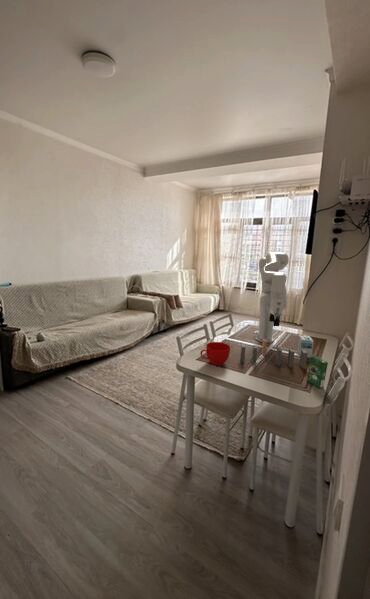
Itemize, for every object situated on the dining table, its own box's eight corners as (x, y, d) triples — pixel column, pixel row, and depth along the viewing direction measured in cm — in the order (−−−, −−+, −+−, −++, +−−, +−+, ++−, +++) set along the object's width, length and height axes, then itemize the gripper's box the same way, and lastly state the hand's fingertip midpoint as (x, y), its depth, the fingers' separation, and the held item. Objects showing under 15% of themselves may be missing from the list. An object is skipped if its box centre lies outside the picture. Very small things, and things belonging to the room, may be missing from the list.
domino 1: (240, 362, 157) (241, 346, 156) (240, 358, 162) (241, 343, 161) (244, 362, 157) (245, 347, 155) (243, 359, 162) (245, 344, 160)
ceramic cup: (194, 361, 156) (195, 343, 154) (221, 357, 163) (222, 340, 161) (205, 370, 145) (206, 352, 143) (233, 366, 151) (234, 349, 149)
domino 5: (288, 367, 154) (290, 351, 152) (287, 363, 158) (289, 348, 157) (292, 367, 153) (294, 352, 152) (290, 363, 158) (292, 348, 156)
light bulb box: (311, 358, 168) (314, 341, 165) (299, 357, 169) (302, 339, 167) (307, 351, 178) (310, 335, 176) (296, 350, 179) (298, 334, 177)
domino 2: (252, 363, 156) (253, 348, 155) (251, 359, 161) (253, 344, 160) (256, 363, 156) (257, 348, 154) (255, 360, 161) (256, 345, 159)
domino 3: (262, 355, 169) (264, 341, 167) (261, 352, 173) (263, 338, 172) (266, 355, 168) (267, 341, 166) (265, 352, 173) (266, 338, 171)
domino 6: (301, 368, 153) (303, 352, 151) (299, 364, 158) (301, 349, 156) (305, 368, 152) (307, 353, 151) (303, 365, 157) (305, 349, 155)
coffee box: (324, 387, 132) (328, 361, 130) (320, 388, 131) (324, 362, 129) (311, 380, 140) (314, 355, 137) (306, 380, 139) (310, 355, 136)
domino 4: (276, 365, 155) (278, 350, 153) (275, 362, 159) (276, 347, 158) (280, 366, 154) (282, 350, 153) (278, 362, 159) (280, 347, 157)
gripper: (288, 298, 154) (284, 328, 157) (279, 293, 171) (276, 320, 174) (274, 297, 154) (271, 327, 157) (267, 292, 171) (264, 319, 174)
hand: (274, 323), depth 166 cm, fingers open, 9 cm apart
